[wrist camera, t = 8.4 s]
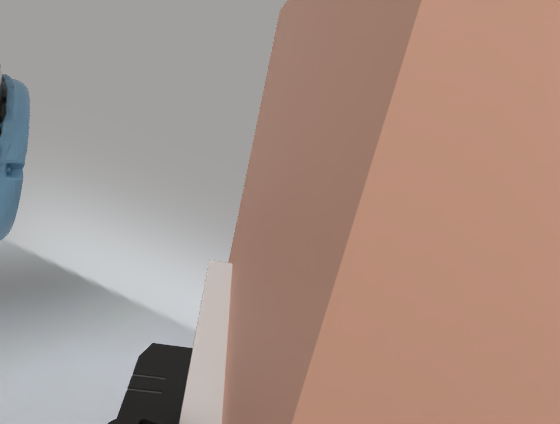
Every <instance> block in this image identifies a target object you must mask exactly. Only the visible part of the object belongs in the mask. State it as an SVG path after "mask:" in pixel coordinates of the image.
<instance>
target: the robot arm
mask: <svg viewBox="0 0 560 424" xmlns="http://www.w3.org/2000/svg"><path fill="white" fill-rule="evenodd" d="M29 100H30V99H29V92H28V89H27V87H26V86H25V85H24V84H23V83H22V82H20V81H18V80H15V79H12V78H10V77H9V76H7V75H2V74H1V66H0V240H2V239H3V238H4V237H5V236H6V235H7V234H8V233H9V232H10V230H11V228H12V225H13V223H14V220H15V217H16V213H17V209H18V205H19V200H20V195H21V189H22V182H23V170H22V169H23V167H24V164H25V157H26V153H27V144H28V134H29V117H30V101H29ZM231 279H232V263H226V262H220V261H214V260H209V263H208V269H207V275H206V279H205V285H204V291H203V296H202V301H201V306H200V312H199V317H198V322H197V328H196V333H195V339H194V344H193V348H187V347H179V346H171V345H164V344H156V343H152V344H151V345H150V346H149V347H148V348H147V349H146V350H145V351H144V352H143V353H142V354H141V355H140V356H139V358H138V361H137V363H136V366H135V369H134V372H133V376H132V377H131V380H130V383H129V386H128V390H127V391H126V394H125V397H124V400H123V403H122V405H121V408H120V411H119V414H118V417H117V419H115V420H113V421H111V422H109V423H108V424H222V412H223V397H224V382H225V367H226V353H227V338H228V323H229V308H230V293H231Z"/></svg>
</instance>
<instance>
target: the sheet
mask: <svg viewBox="0 0 560 424" xmlns="http://www.w3.org/2000/svg"><path fill="white" fill-rule="evenodd" d="M229 263H232V279H231V293H230V308H229V323H228V338H227V353H226V367H225V382H224V397H223V412H222V424H560V0H287V2H286V3H285V4H284V6H283V7H282V8H281V10H280V13H279V18H278V22H277V28H276V32H275V37H274V42H273V47H272V52H271V57H270V62H269V67H268V72H267V76H266V81H265V86H264V91H263V96H262V102H261V106H260V111H259V116H258V121H257V125H256V130H255V135H254V140H253V145H252V150H251V155H250V160H249V165H248V170H247V174H246V179H245V185H244V189H243V194H242V199H241V204H240V209H239V214H238V219H237V223H236V228H235V233H234V238H233V243H232V248H231V253H230V258H229Z"/></svg>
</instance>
